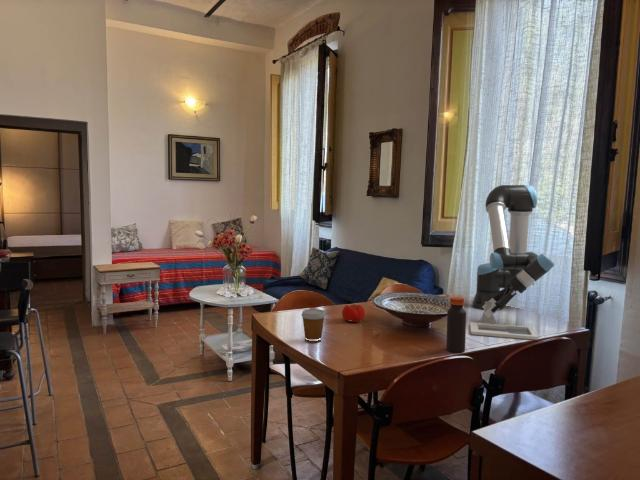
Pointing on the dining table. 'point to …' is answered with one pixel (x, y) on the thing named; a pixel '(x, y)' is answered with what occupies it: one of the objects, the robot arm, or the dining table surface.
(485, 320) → the flask
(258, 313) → the dining table surface
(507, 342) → the dining table surface
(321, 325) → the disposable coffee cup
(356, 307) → the tomato
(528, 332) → the keyhole plate
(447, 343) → the bottle
